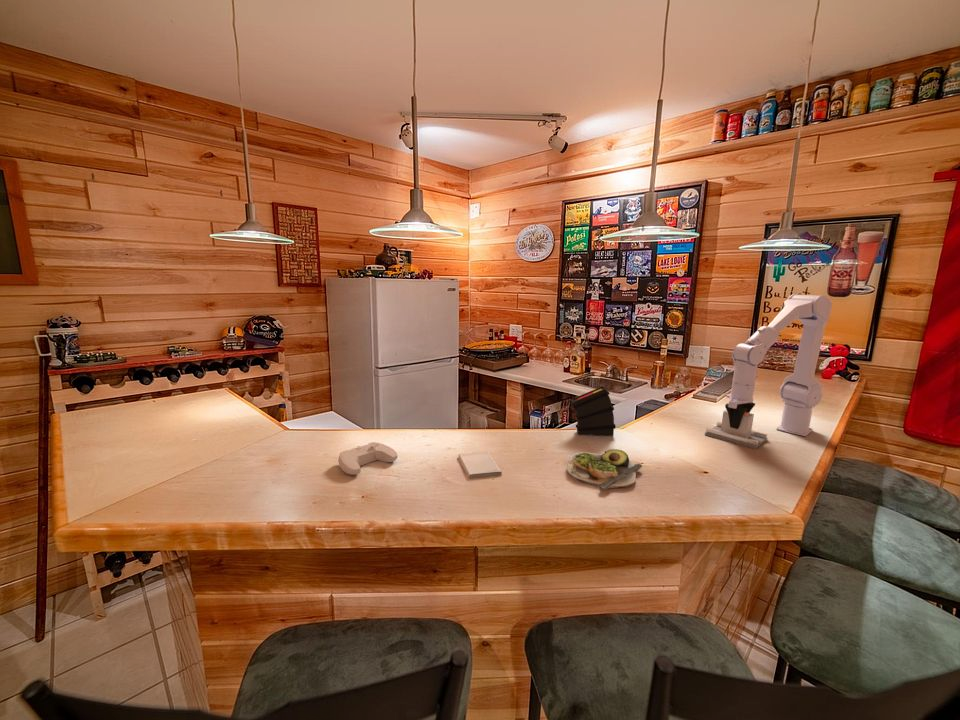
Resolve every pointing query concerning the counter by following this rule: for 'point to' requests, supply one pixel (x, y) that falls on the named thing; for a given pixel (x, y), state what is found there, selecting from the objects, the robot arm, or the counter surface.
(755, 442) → the rail mount
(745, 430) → the module block
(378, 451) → the game controller
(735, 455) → the counter surface
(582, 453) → the avocado toast plate
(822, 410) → the counter surface
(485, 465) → the hard drive
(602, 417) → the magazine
